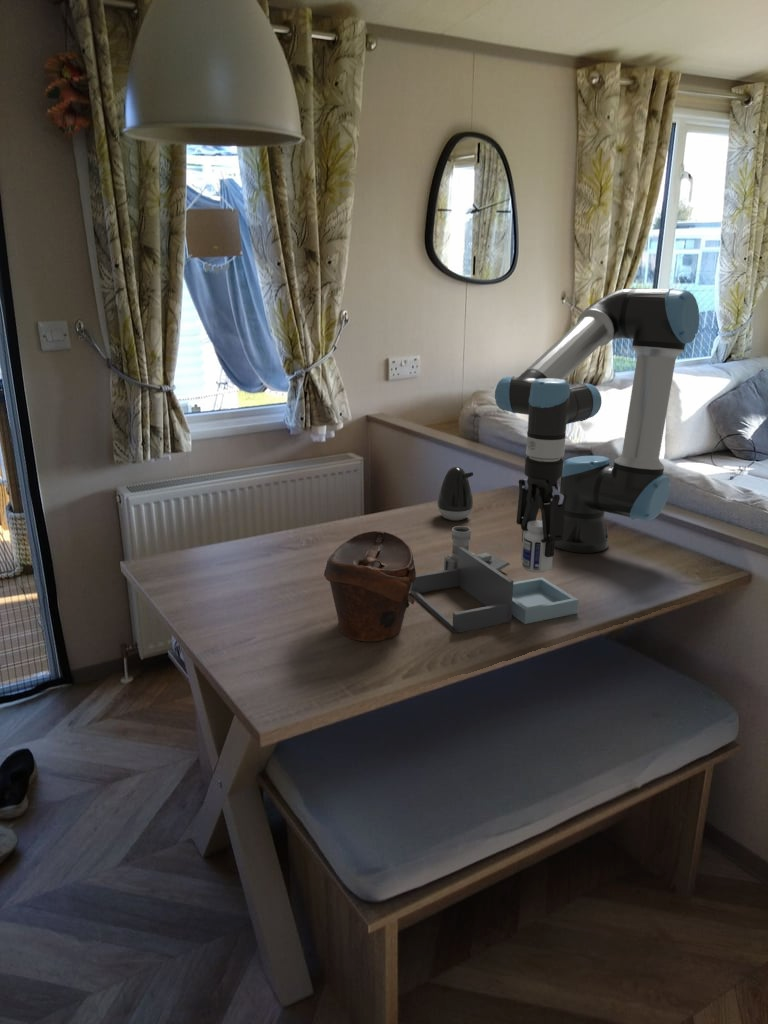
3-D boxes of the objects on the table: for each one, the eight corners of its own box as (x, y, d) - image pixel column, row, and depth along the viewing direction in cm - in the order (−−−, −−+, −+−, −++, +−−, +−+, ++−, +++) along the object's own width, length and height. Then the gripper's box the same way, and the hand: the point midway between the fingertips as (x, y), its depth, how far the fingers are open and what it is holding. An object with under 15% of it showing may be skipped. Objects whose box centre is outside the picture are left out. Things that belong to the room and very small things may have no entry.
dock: (409, 592, 167) (410, 555, 164) (461, 583, 172) (462, 546, 169) (454, 633, 148) (456, 591, 145) (510, 621, 153) (513, 581, 150)
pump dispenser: (462, 526, 210) (465, 473, 205) (430, 519, 215) (432, 468, 211) (479, 516, 218) (481, 465, 213) (447, 510, 223) (449, 460, 219)
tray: (491, 599, 164) (492, 586, 163) (541, 589, 168) (542, 577, 167) (524, 624, 152) (525, 610, 151) (577, 613, 157) (578, 599, 156)
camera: (438, 526, 174) (488, 516, 182) (436, 572, 178) (485, 561, 185) (461, 536, 167) (512, 526, 175) (459, 585, 171) (509, 573, 178)
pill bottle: (552, 565, 159) (556, 521, 156) (546, 575, 154) (549, 529, 151) (525, 561, 161) (528, 517, 158) (518, 570, 156) (521, 525, 153)
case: (346, 659, 138) (346, 568, 133) (312, 615, 155) (311, 534, 150) (432, 642, 145) (436, 556, 139) (390, 603, 162) (392, 524, 157)
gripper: (503, 448, 157) (497, 552, 164) (556, 469, 141) (547, 583, 148) (533, 446, 160) (526, 547, 167) (589, 466, 143) (578, 578, 151)
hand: (536, 564), depth 157 cm, fingers closed on pill bottle, 6 cm apart
